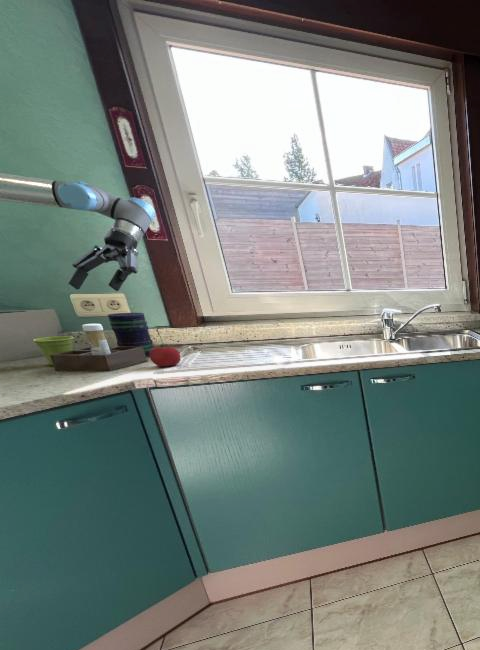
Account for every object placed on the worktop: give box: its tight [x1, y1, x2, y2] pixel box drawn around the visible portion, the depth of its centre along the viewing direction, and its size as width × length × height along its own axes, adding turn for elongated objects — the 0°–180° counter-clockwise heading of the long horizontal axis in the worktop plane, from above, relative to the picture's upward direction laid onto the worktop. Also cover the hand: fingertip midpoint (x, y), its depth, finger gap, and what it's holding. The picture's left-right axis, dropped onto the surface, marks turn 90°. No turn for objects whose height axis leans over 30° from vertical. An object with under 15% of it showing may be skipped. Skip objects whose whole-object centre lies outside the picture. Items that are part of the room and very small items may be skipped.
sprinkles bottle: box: [81, 323, 111, 355], centre depth 159 cm, size 5×5×13 cm
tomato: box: [149, 343, 182, 368], centre depth 166 cm, size 8×8×7 cm
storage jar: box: [107, 312, 156, 358], centre depth 178 cm, size 10×10×15 cm
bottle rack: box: [50, 345, 148, 372], centre depth 164 cm, size 16×16×5 cm
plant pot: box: [32, 335, 75, 367], centre depth 164 cm, size 9×9×9 cm
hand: (93, 287), depth 157 cm, fingers open, 13 cm apart
